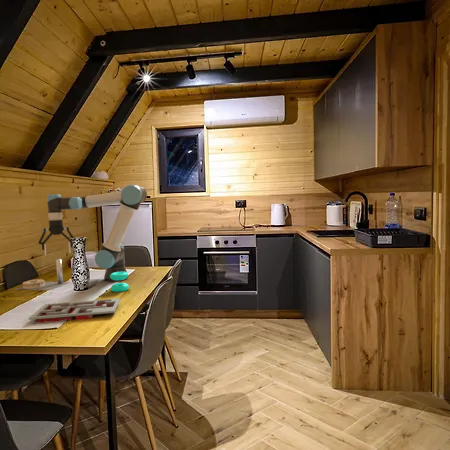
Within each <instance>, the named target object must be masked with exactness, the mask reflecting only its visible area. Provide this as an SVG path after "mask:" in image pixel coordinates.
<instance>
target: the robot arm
mask: <svg viewBox="0 0 450 450" xmlns="http://www.w3.org/2000/svg"><path fill="white" fill-rule="evenodd" d="M147 196H148V193H147V190H146V189H145V187H143V186H141V185H136V184H129V185H126V186H124V187H123V188H122V190H121V191H116V192H115V191H114V192H108V193H102V194H93V195H87V196H70V197H69V196H68V197H66V196H65V197H62V196H61V194H58V193H57V194H56V193H55V194H47V201H46V203H47V210H48V211H47V212H48V213H47V215H48V220H49V221H48V226H49V227H48V228H46V227H44V228H43V231H42V234H41V236H40V238H39V240H38V242H37V243H38V245H41V247H42V248H41V250H42V251H44V256H47V245H46V242H47V241H48V240H49V239H50V237H52V236H55V235H57V236H58V235H59V236H60V235H62V236H63V237H64V238H65V239H66V240H67V241H68V253H69V254H71V253H72V249H71V248H73V242H72V241H71V240H72V238H74V239H75V237H74V236H73V234H72V233H71V231H70V229H69V227H68V226H66V227H64V224H63V212H62V211H63V210H65V211H66V210H74V211H75V210H83V209H89V208H95V207H96V208H97V207H103V206H111V205H120V208H119V209H118V213H117V215H116V217H115V220H114V222H113V225H112V227H111V229H110V232H109V234H108V236H107V238H106V241H105V242H103V243H102V244H101V247H100V249H99V250H98V251H97V252H96V254H95V255H94V262H95V264H96V265H97V267H98V268H101V269H102V270H103V269H105V272H104V277H103V280H104V282H109V283H110V282H121V281H125V280H128V279H129V276H128V277H127V278H126V279H123V280H112V279H111V278H110V275H111V274H112V273H115V272H127V273H128V271H127V268H126V265H125V263H126V261H125V247H124V245H123V244H122V242H123V240H124V238H125V235H126V233H127V230H128V228H129V225H130V223H131V221H132V219H133V216H134V214H135V212H137V211H138V210H139V208H140V206H141V204H143V203H144V202H145V201H146V199H147ZM64 230H65V231H66V232H67V233H68V235H69V236H67V235H66V233H64V232H63V231H64ZM48 231H49V232H50V233H49V234H48V235H47V236H46V237H45V235H46V233H47V232H48ZM44 237H45V239H44ZM43 239H44V240H43Z"/></svg>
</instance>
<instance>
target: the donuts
mask: <svg viewBox="0 0 450 450" xmlns="http://www.w3.org/2000/svg"><path fill="white" fill-rule="evenodd" d="M127 277H128V278H129V273H128V271H127V272H115V273H112V274H111V275H110V278H111V279H112V280H122V281H124V280H123V279H126V278H127ZM126 280H127V279H126ZM129 288H130V286H129V284H128V283H126V282H118V283H114V284H112V285H111V287H110V291H112V292H114V293H120V292H121V293H122V292H125V291H127V290H129Z"/></svg>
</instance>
